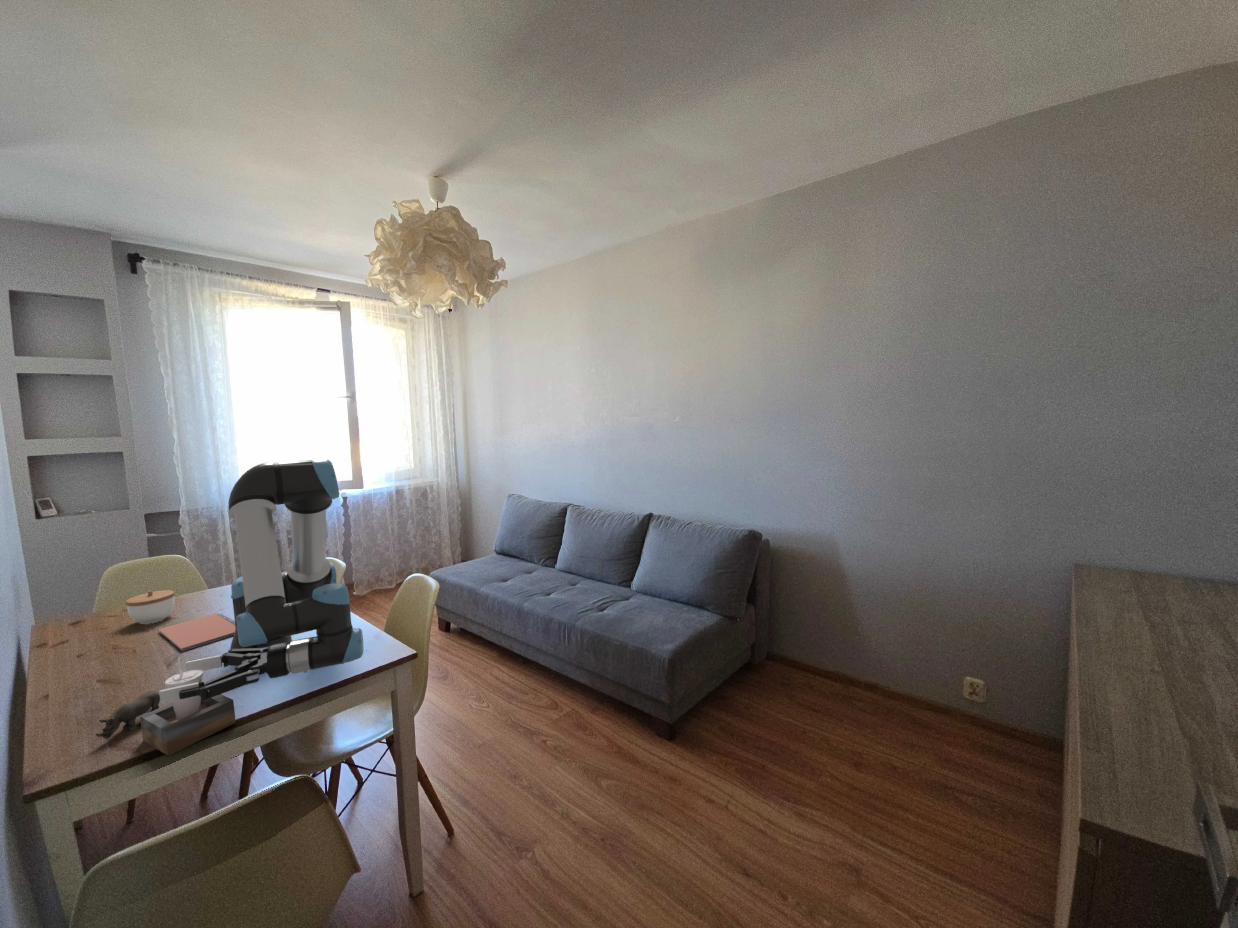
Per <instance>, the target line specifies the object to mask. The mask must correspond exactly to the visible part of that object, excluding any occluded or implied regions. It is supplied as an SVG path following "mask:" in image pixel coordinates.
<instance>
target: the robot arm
mask: <svg viewBox="0 0 1238 928" xmlns="http://www.w3.org/2000/svg"><path fill="white" fill-rule="evenodd" d="M333 465H334V464H333V462H332V461H331V460H329V459H328V458H318V459H317V458H312V459H306V460H305V459H303V460H291V461H275V462H274V461H269V462H263V463H260V464H257V465H254V466H252V467H251V468H249V469H248V470H247V471H246V472H244V473H242V475H241V476H240V477H239V479H238V480H237V481H236V482H235V483H234V485H233V487H232V488H231V492H230V494H229V498H228V514H229V516H230V518H232V519H234V520H235V521H234V522H235V528H236V536H237V545H238V552H239V553H238V554H239V555H238V556H239V563H240V571H241V576H239V577H237V578H236V579H235V580H234V581H232V582H231V583H232V584H231V586H230V589H231V595H230V598H231V599H232V607H233V608H232V609H233V617H234V618H233V619H234V620H233V621H235V632H234V635H233V636H232V639H231V640H232V641H231V643H230V647H229V649H228V650H227V652H224V653H222V654H220V655H219V654H218V655H214V656H209V657H208V656H207V657H203V658H199V659H193V660H189V661H185V662H184V665H185V667H184V668H185V671H190V670H202V671H203V672H204V671H209V670H213V669H219V668H222V667H223V668H227V667H229V666H233V667H235V668H234V669H233V670H231V671H228V672H226V673H224V674H221V675H219V676H216V677H215V678H211V679H209V680H207V681H199V682H197V683H192V684H188V685H183V686H178V687H173V688H169V689H168V688H165V689H161V690H159V692H158V694H159V695H160V702H159V703H160V705H164V704H165V705H166V704H168V703H169V704H171V703H172V702H174V701H179V700H183V699H188V698H192V697H197V696H200V697H201V700H202V701H203V700H206V699H209V698H212V697H214V696H217V695H220V694H221V695H223V694H225V693H227V692H228V693H229V692H230V691H233V690H236V689H239V688H242V687H243V686H247V685H250V684H255V683H258V682H259V681H260V675H264V674H267V675H268V677H269V678H270V679H277V678H280V677H285V676H288V675H290V673H291V674H298V673H304V674H305V673H308V672H309V671H312V670H316V669H320V668H326V667H331V666H335V665H343V664H345V663H350V662H353V661H356V660H359V659H361V658H362V657H363V655H364V635H363V630H362V629H361V628H359V627H357V628H355V627H354V626H353V624H352V616H351V615H352V613H351V600H350V593H349V589H348V586H347V585H345V584H344V583H338V582H337V570H336V567H335V564H334V563H332V562H330V561H329V559H328V558H326V539H327V538H326V531H327V528H326V527H327V526H326V525H327V510H328V509H329V508H330V507H331V506H332V503H333V500H336V499H337V498H339V497H340V489H339V485H338V478H337V476H336V472H335V468H334V466H333ZM280 505H284V507H285V508H286V509H287V510H288V511H289V512H290V513H291V543H292V547H291V548H292V561H291V562H290V563H289V565H288V566H287V570H284V571H282V569H281V568H282V567H281V564H280V563H281V561H280V557H279V556H280V555H279V549H278V548H279V547H278V544H277V543H278V542H277V535H276V530H275V524H274V516H273V514H275V512H276V510H277V506H280ZM312 631H315V633H316V636H311V637H310V636H309V637H304V638H301V639H299V638H298V639H294V640H293V639H292V638H293V637H292V636H296V635H300V634H304V633H308V632H312Z"/></svg>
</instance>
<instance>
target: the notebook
mask: <svg viewBox="0 0 1238 928" xmlns="http://www.w3.org/2000/svg"><path fill="white" fill-rule="evenodd" d="M224 617H225V618H224ZM158 631H159V634H161V636H162V637H165V638H166V639H167V640H168V641H169V642H171V643H172V644H173V645H174V646H175V647H176V648H177V649H179V650H180V651H181V652H186V651H188V650H191V649H194V648H198V647H201V646H204V645H207V644H210V643H211V644H212V643H214V642H216V641H220V640H223V638H224V639H227V638H229V637H233V636H234V632H235V620H233V619H231V618H230V617H228V616H226V615H224V614H223V613H217V612H215V613H212V614H209V615H205V616H202V617H198V618H194V619H191V620H187V621H184V622H180V623H176V624H172V625H169V626H166V627H162V628H158ZM232 635H233V636H232ZM226 637H227V638H226Z"/></svg>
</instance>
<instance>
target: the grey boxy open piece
mask: <svg viewBox="0 0 1238 928" xmlns="http://www.w3.org/2000/svg"><path fill="white" fill-rule="evenodd" d="M234 702H235V701H234V699H233V698H230V697H229V696H226V695H223V694H220V695H217V696H214V697H212V698H209V699H206V700H203V701H202V700H201V706H200V711H199V712H197V713H194V714H192V715H190V716H188V717H186V718H183V719H181V720H179V721H177V717H176V714H175V711H174V708H173V704H172V702H170V703H169V704H168V703H167V704H165V705H164V706H161V707H159V709H156V710H154V711H152V712H150V711H149V712H148V713H147V712H146V713H144V714H142V715H140V716H139V718H140V725H141V728H140V729H141V734H142V741H144V742H146V743H147V744H148V745H150V746H152V747H153V748H155V749H157V750H158V751H160V752H161V753H163V754H164V755H166V756H168V757H169V756H171V755H173V754H176V753H178V752H180V751H182V750H183V749H186V748H188V747H189V746H192V745H193V744H195V743H197V742H199V741H200V742H201V740H204V739H206V738H207V737H210V736H211V735H213V734H215V733H217V732H220V731H222V730H224V729H226V728H228V727H231V726H232V725H234V724H236V723H237V722H236V721H237V720H236V713H235V712H236V711H235V703H234Z"/></svg>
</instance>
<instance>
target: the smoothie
mask: <svg viewBox="0 0 1238 928" xmlns="http://www.w3.org/2000/svg"><path fill="white" fill-rule="evenodd" d="M177 663H178V665H177V666H178V672H179V673H177V674H174V675H172V676H170V677H169V678H167V679H166V680H165V682H164V688H165V689H169V688H173V687H178V686H183V685H188V684H192V683H197V682H199V681H202V680H203V678H204V676H205V675H204V671H202V670H190V671H186V670H185V671H183V664H182V657H178V658H177ZM171 703H172V704H173V708H174V711H175V714H176V717H177V721H179V720H181V719H183V718H186V717H188V716H190V715H192V714H194V713H197V712H199V711H200V706H201V697H200V696H197V697H192V698H188V699H183V700H179V701H174V702H171Z"/></svg>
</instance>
